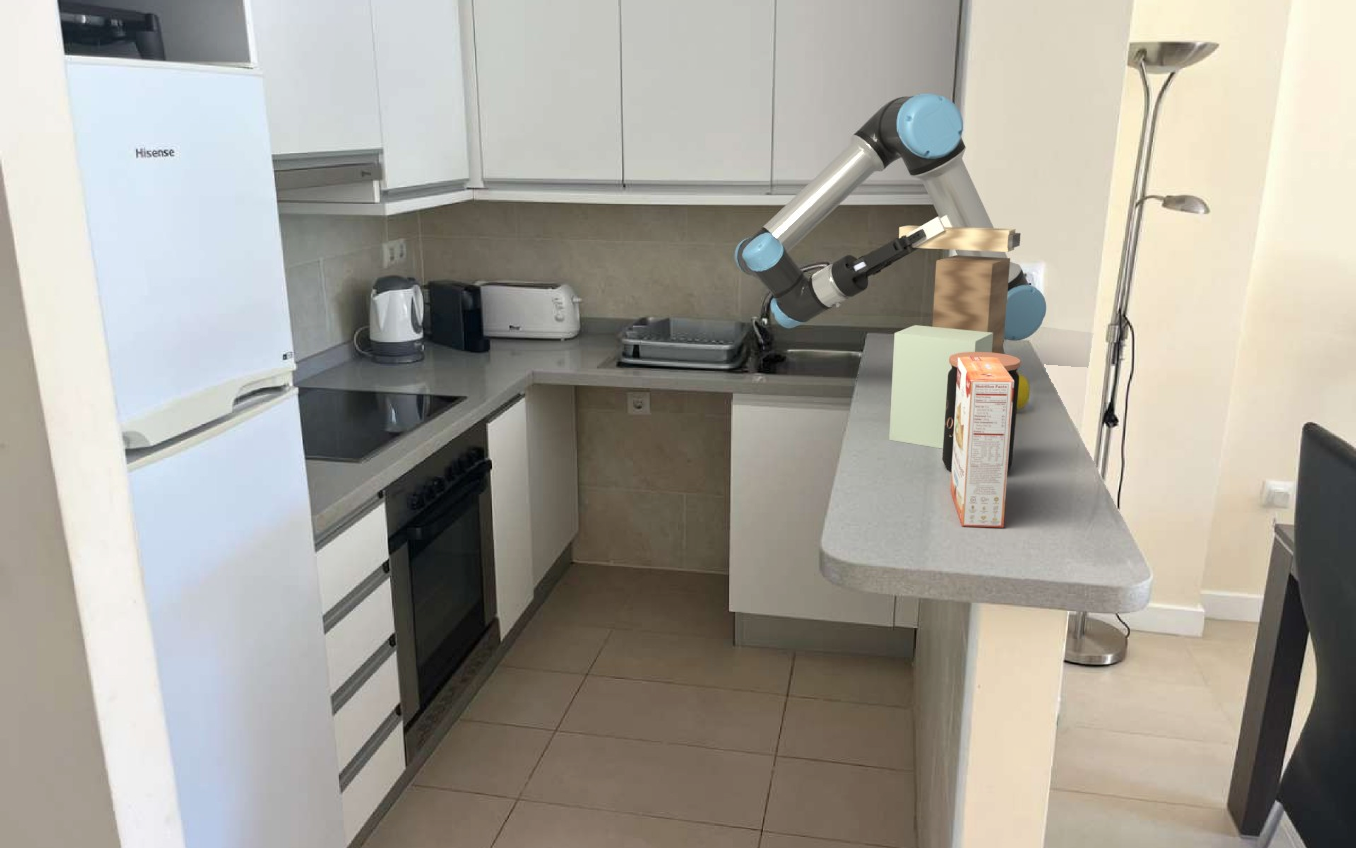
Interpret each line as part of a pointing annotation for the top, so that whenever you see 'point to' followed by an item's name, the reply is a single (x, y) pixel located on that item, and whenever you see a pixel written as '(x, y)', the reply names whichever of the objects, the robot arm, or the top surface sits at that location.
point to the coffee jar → (1006, 360)
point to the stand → (972, 295)
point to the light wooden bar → (969, 239)
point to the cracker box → (981, 441)
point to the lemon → (1023, 392)
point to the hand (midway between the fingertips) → (945, 222)
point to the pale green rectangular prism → (926, 380)
